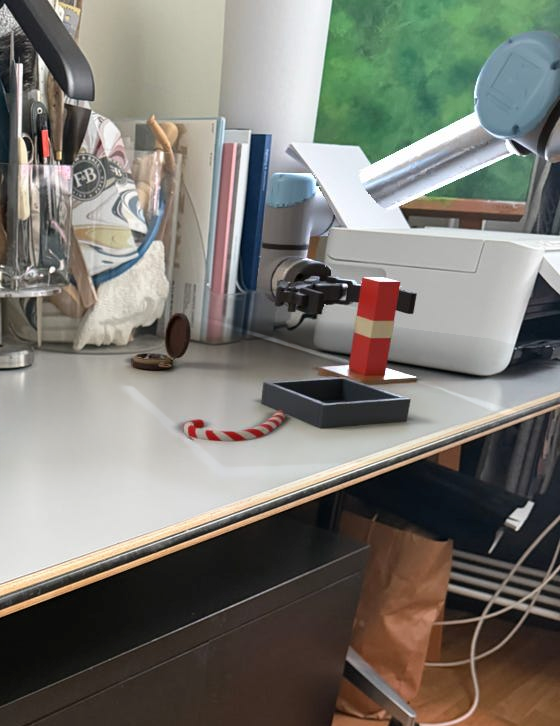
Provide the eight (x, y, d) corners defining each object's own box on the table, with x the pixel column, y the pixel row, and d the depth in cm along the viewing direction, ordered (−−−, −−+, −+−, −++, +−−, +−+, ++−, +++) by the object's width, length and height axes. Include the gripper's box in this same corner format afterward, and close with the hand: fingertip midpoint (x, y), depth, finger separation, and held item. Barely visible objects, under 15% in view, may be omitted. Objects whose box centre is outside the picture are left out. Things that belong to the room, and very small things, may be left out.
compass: (122, 363, 136) (124, 311, 132) (171, 361, 138) (174, 309, 135) (147, 374, 129) (150, 319, 126) (197, 371, 132) (201, 317, 128)
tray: (406, 425, 106) (411, 398, 105) (320, 432, 102) (324, 405, 101) (340, 401, 117) (344, 376, 115) (260, 407, 113) (263, 381, 111)
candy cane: (308, 414, 104) (230, 437, 95) (307, 426, 105) (228, 450, 95) (250, 402, 109) (170, 423, 99) (249, 413, 110) (169, 435, 100)
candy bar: (368, 368, 132) (382, 277, 126) (385, 375, 127) (401, 281, 122) (347, 368, 131) (361, 277, 125) (364, 375, 126) (379, 281, 121)
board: (415, 384, 127) (417, 377, 126) (360, 388, 124) (361, 380, 123) (370, 370, 135) (371, 363, 135) (317, 373, 132) (318, 366, 132)
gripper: (374, 310, 150) (444, 331, 132) (226, 310, 146) (277, 333, 127) (382, 260, 147) (455, 274, 128) (231, 259, 142) (284, 274, 124)
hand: (367, 303), depth 128 cm, fingers open, 13 cm apart
